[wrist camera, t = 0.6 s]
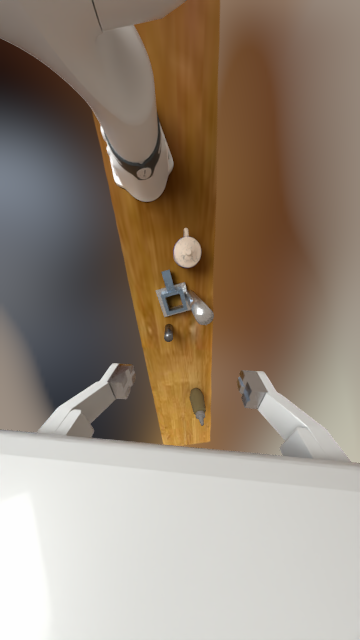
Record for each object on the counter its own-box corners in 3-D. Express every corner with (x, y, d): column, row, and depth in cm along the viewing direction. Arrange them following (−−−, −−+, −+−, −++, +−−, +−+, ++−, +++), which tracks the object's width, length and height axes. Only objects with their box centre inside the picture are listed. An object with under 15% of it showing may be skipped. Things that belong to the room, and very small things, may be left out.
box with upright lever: (150, 274, 51) (133, 281, 27) (188, 264, 50) (204, 261, 26) (164, 315, 58) (160, 350, 34) (197, 306, 57) (217, 335, 33)
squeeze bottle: (189, 396, 79) (194, 431, 63) (188, 387, 76) (193, 420, 60) (202, 395, 79) (210, 428, 63) (201, 385, 76) (210, 418, 60)
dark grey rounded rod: (164, 325, 60) (163, 335, 50) (171, 323, 60) (171, 333, 50) (166, 331, 61) (165, 342, 52) (173, 329, 61) (173, 340, 52)
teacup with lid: (196, 267, 51) (203, 267, 40) (173, 268, 51) (174, 268, 40) (196, 232, 47) (204, 221, 36) (171, 232, 46) (172, 222, 35)
